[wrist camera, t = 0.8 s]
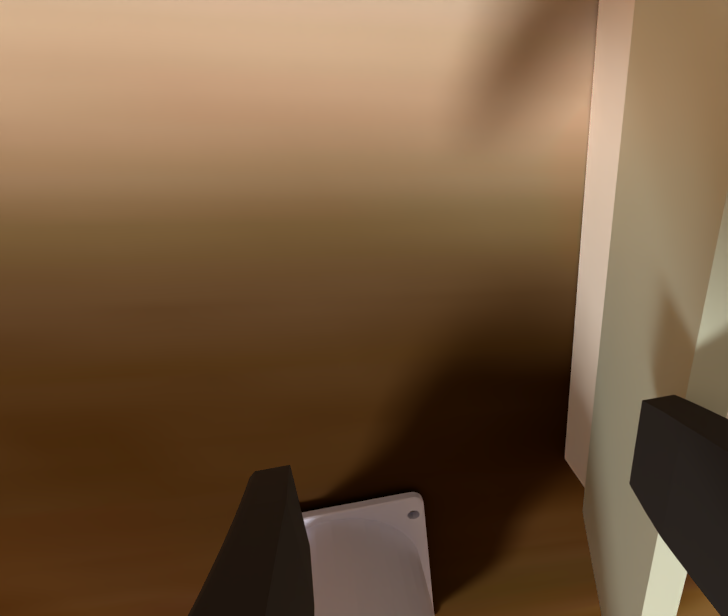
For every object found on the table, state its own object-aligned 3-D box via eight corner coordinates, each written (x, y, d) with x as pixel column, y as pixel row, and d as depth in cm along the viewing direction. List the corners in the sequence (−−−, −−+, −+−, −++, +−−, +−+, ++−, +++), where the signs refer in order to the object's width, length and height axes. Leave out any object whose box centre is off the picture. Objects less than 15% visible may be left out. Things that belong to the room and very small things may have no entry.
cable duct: (714, 430, 23) (770, 479, 20) (564, 458, 23) (601, 512, 20) (852, -141, 14) (985, -187, 11) (606, -111, 14) (685, -153, 11)
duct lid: (649, 723, 14) (620, 718, 14) (602, 513, 20) (582, 511, 20) (927, -382, 5) (837, -357, 5) (686, -154, 11) (650, -146, 11)
